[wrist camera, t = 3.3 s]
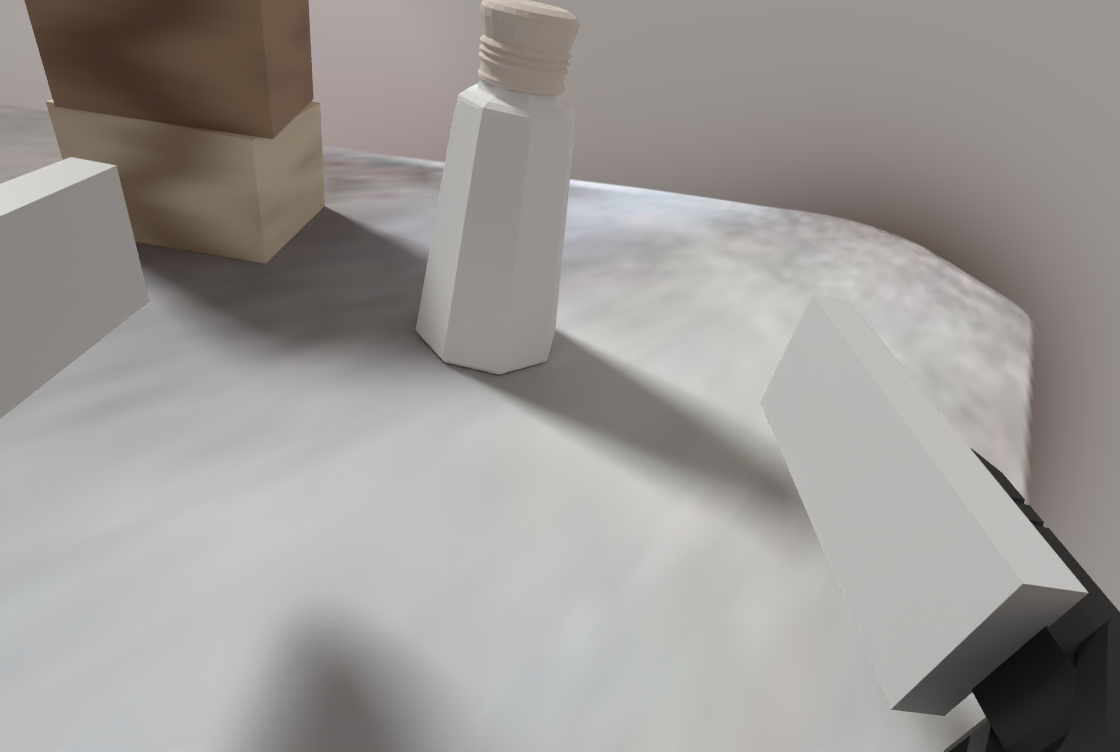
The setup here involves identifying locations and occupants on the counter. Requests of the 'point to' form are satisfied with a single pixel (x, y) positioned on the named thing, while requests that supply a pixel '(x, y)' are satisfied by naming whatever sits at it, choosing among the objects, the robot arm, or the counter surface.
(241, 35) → the tower top
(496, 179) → the salt shaker
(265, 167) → the tower bottom
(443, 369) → the counter surface
